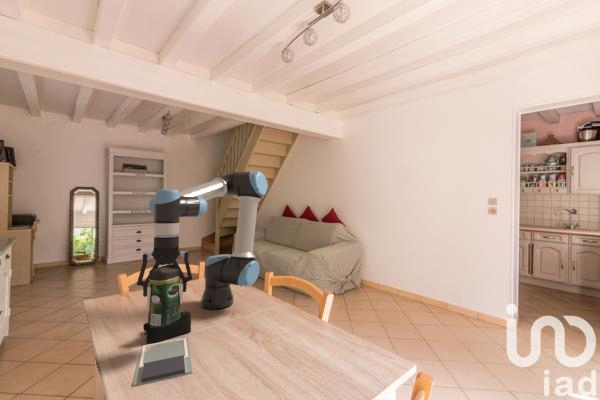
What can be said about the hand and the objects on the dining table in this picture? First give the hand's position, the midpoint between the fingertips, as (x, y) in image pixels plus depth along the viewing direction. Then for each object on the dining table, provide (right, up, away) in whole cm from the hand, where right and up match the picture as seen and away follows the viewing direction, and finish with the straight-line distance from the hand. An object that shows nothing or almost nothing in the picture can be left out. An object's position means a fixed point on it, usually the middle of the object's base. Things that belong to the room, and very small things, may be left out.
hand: (165, 303), depth 92 cm
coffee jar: (0, -6, 0) cm, 6 cm away
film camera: (-5, -17, +11) cm, 21 cm away
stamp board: (+2, -16, -4) cm, 17 cm away
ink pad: (+5, -16, -10) cm, 20 cm away
